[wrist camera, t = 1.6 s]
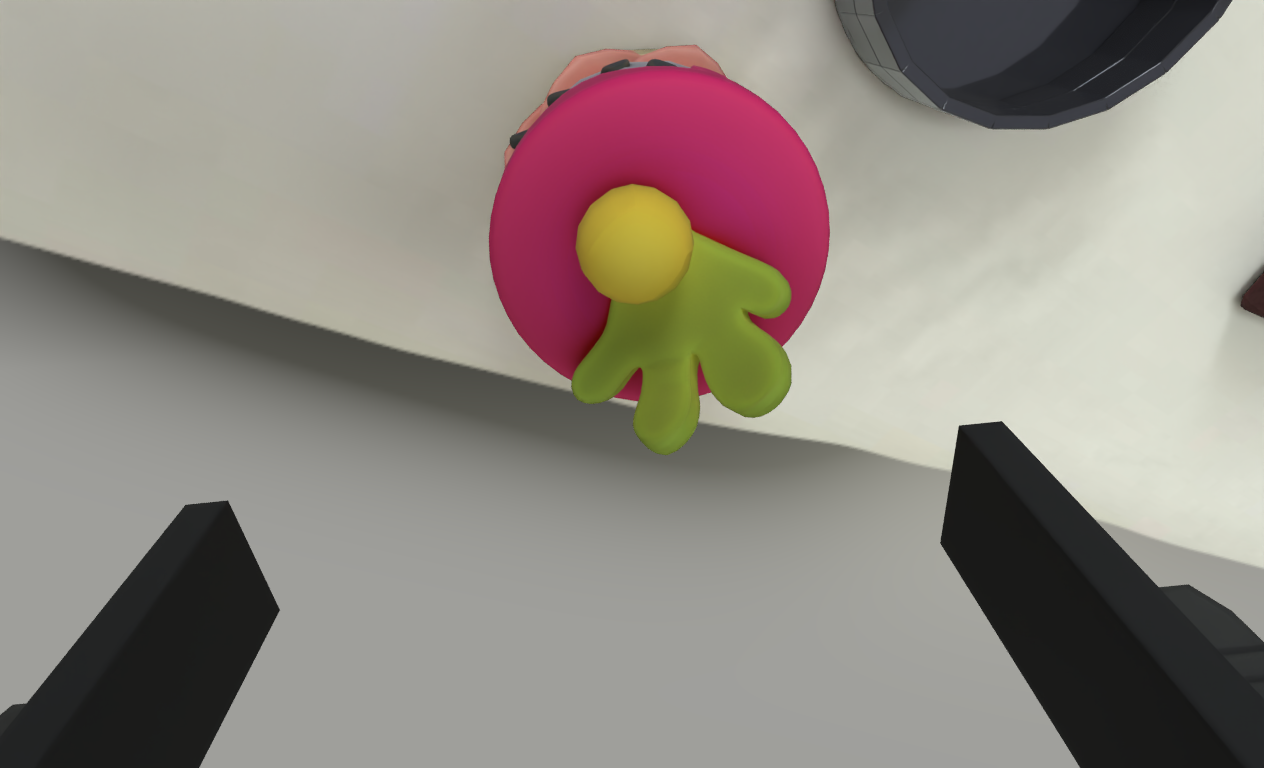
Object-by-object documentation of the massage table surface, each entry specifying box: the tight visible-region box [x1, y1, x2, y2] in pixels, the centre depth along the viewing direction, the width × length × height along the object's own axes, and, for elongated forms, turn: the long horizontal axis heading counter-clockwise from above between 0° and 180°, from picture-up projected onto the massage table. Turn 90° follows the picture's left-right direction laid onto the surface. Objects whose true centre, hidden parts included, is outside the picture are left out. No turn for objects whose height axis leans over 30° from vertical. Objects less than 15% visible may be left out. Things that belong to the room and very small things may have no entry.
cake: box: [489, 45, 830, 455], centre depth 24 cm, size 10×10×15 cm
